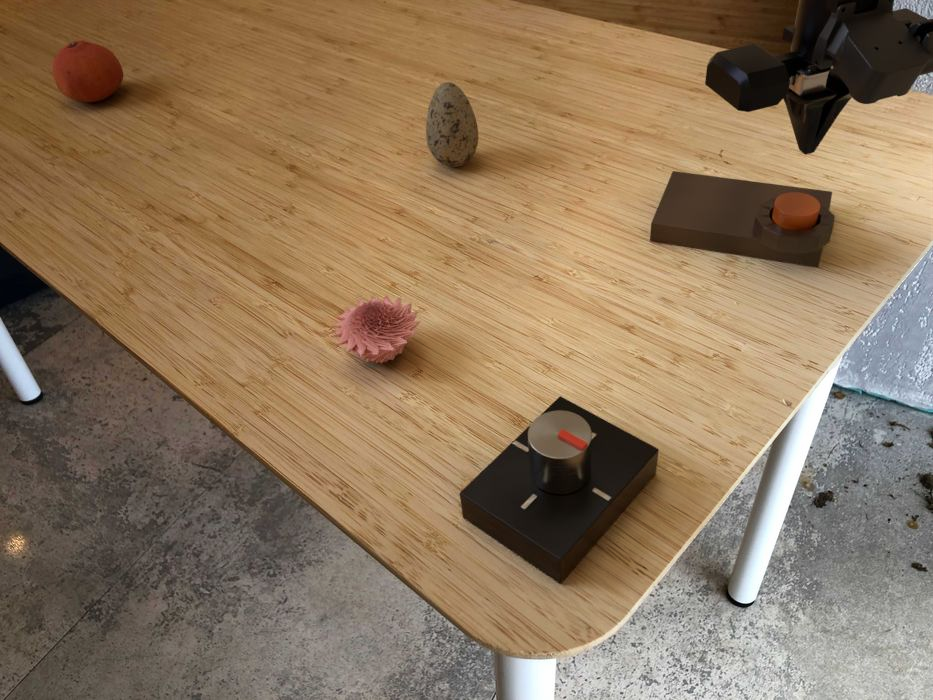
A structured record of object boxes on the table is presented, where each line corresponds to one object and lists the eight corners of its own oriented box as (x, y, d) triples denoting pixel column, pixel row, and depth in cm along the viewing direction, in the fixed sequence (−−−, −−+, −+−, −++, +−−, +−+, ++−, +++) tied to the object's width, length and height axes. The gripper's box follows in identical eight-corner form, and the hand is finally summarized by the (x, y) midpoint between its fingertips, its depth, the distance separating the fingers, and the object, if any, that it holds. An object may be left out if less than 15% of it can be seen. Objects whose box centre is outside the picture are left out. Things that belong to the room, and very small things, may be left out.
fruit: (52, 110, 119) (27, 55, 114) (92, 81, 125) (71, 27, 120) (102, 116, 116) (79, 60, 111) (141, 86, 122) (121, 32, 117)
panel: (560, 421, 69) (560, 394, 67) (656, 474, 64) (659, 447, 62) (462, 517, 63) (458, 491, 61) (560, 584, 58) (560, 559, 56)
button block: (832, 210, 86) (841, 176, 84) (821, 277, 79) (830, 242, 76) (671, 188, 92) (674, 155, 89) (646, 249, 84) (648, 215, 82)
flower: (403, 393, 73) (393, 345, 69) (321, 375, 75) (307, 328, 71) (438, 333, 78) (431, 286, 74) (360, 318, 80) (350, 271, 77)
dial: (517, 474, 61) (514, 435, 58) (554, 437, 64) (553, 398, 61) (566, 505, 59) (566, 466, 56) (603, 466, 61) (604, 426, 58)
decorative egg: (454, 145, 102) (445, 66, 96) (491, 160, 99) (485, 79, 92) (419, 167, 99) (408, 87, 93) (456, 182, 96) (447, 101, 89)
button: (818, 211, 81) (822, 195, 79) (814, 234, 78) (818, 219, 77) (774, 205, 82) (777, 189, 81) (769, 228, 79) (772, 212, 78)
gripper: (799, 32, 56) (763, 226, 67) (1032, -23, 60) (962, 171, 70) (712, -22, 64) (692, 159, 75) (923, -67, 68) (875, 113, 78)
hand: (806, 151), depth 74 cm, fingers closed
